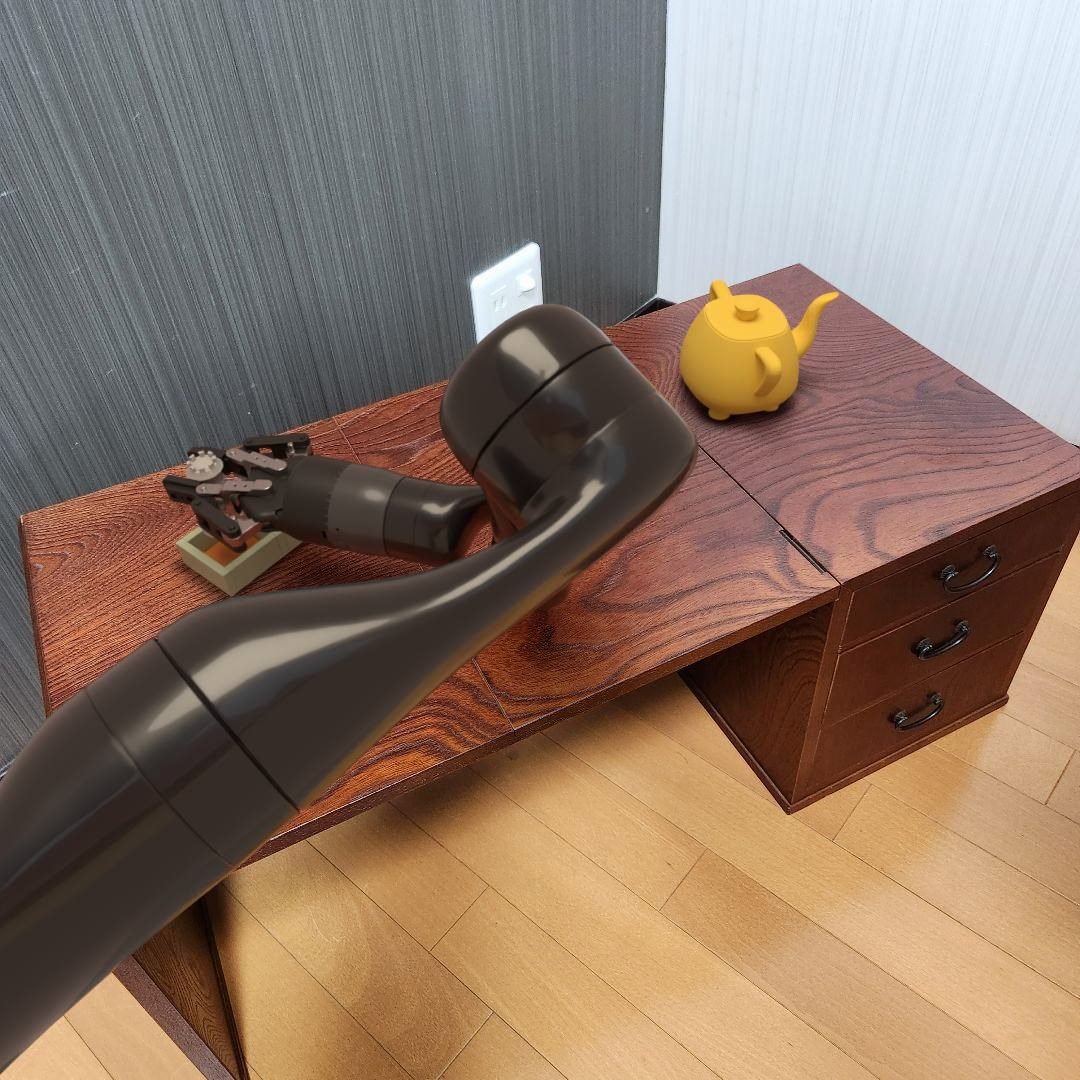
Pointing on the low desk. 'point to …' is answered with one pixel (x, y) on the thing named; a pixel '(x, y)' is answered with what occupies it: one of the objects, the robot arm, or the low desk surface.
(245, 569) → the socket pad
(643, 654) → the low desk surface
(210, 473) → the rook chess piece
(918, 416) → the low desk surface
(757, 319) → the teapot
